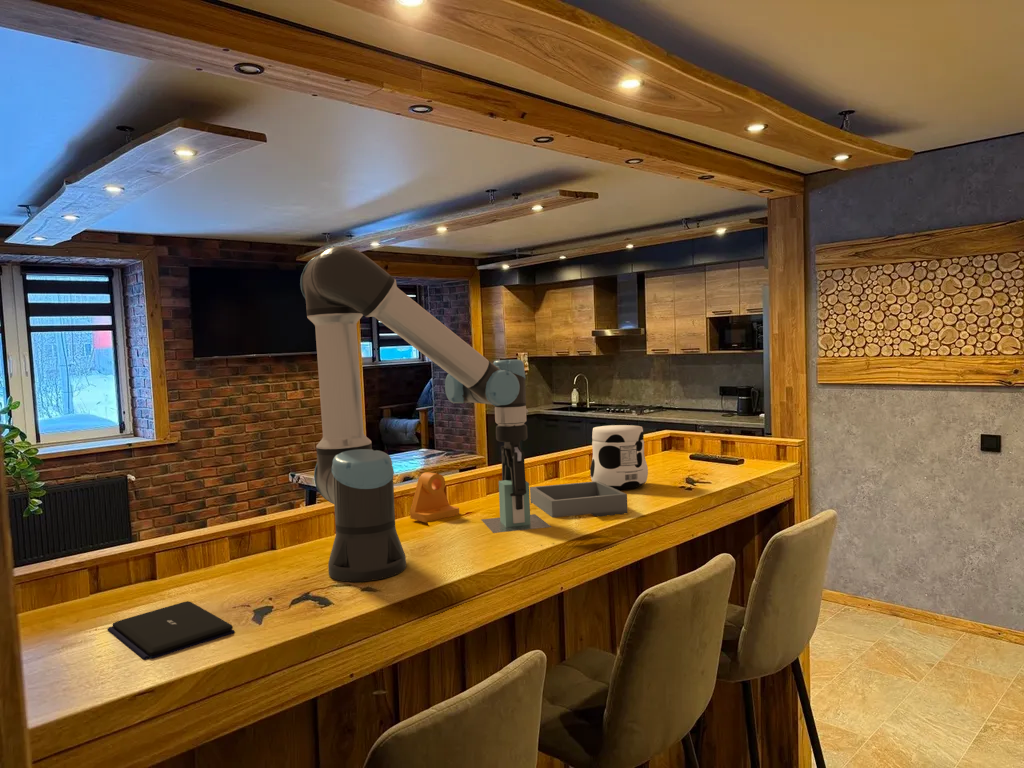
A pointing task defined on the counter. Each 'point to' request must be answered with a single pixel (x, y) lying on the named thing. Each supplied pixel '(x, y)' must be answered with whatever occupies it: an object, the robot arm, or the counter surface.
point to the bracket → (431, 499)
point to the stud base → (497, 526)
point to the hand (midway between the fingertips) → (515, 519)
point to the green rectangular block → (506, 504)
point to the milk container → (619, 456)
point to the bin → (579, 499)
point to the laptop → (169, 630)
